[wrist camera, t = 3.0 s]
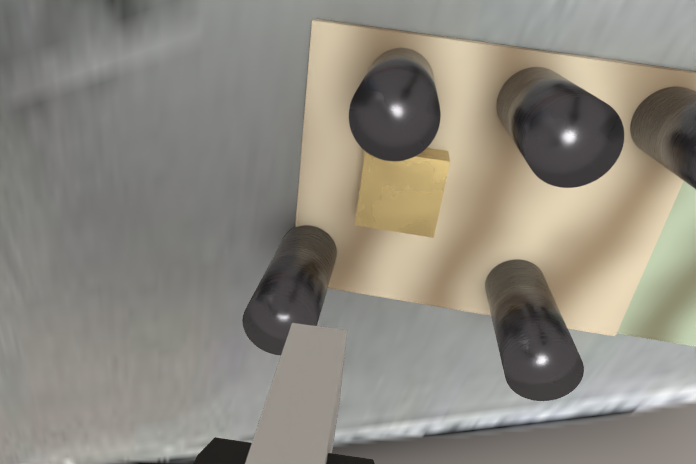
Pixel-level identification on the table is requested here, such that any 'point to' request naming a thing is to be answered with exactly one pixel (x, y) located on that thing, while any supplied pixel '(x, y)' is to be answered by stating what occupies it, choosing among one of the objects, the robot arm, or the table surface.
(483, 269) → the board
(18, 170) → the table surface
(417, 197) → the tan wooden tile
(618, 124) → the spacers
